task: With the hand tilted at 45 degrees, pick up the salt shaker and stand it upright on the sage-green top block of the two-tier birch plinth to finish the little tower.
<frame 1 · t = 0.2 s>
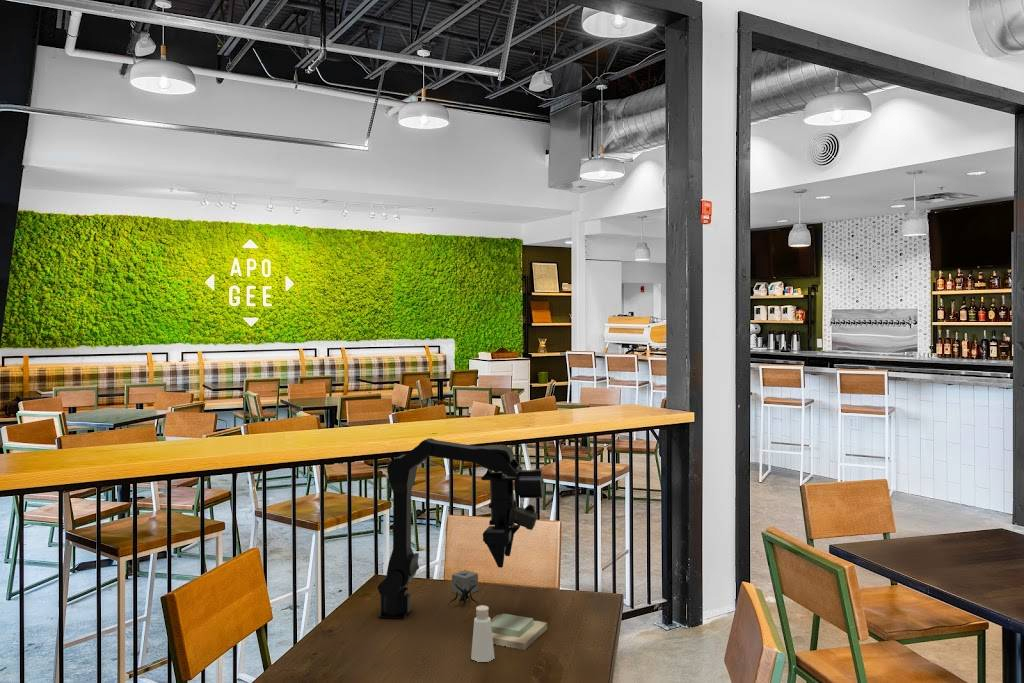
hand: (504, 561, 183), 14 cm above the table, tool pointing down, fingers open, 9 cm apart
dice cube: (465, 593, 204), on the table
salt shaker: (482, 658, 162), on the table
creature: (463, 607, 194), on the table
plinth: (510, 634, 175), on the table
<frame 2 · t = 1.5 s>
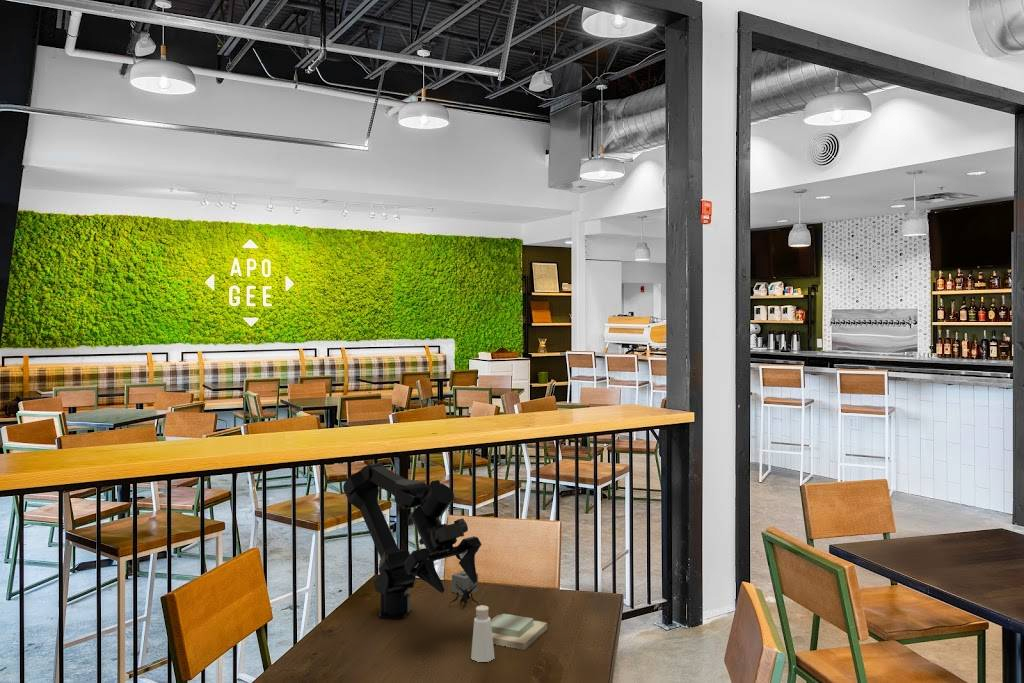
hand: (459, 587, 168), 13 cm above the table, tool tilted 45°, fingers open, 9 cm apart
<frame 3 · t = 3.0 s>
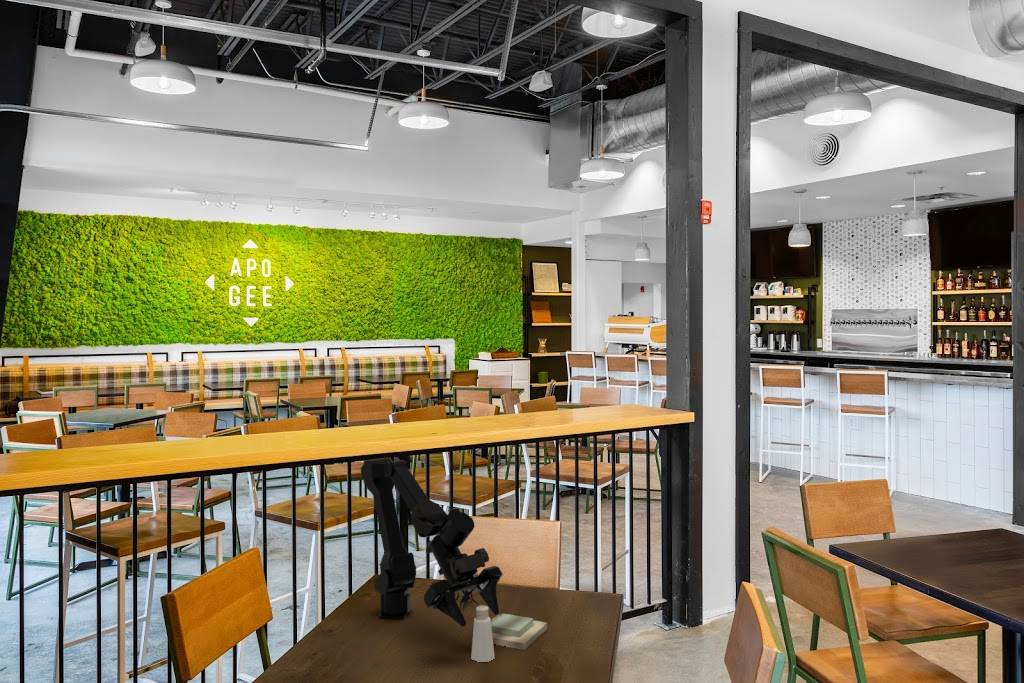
hand: (481, 619, 162), 8 cm above the table, tool tilted 45°, fingers open, 9 cm apart
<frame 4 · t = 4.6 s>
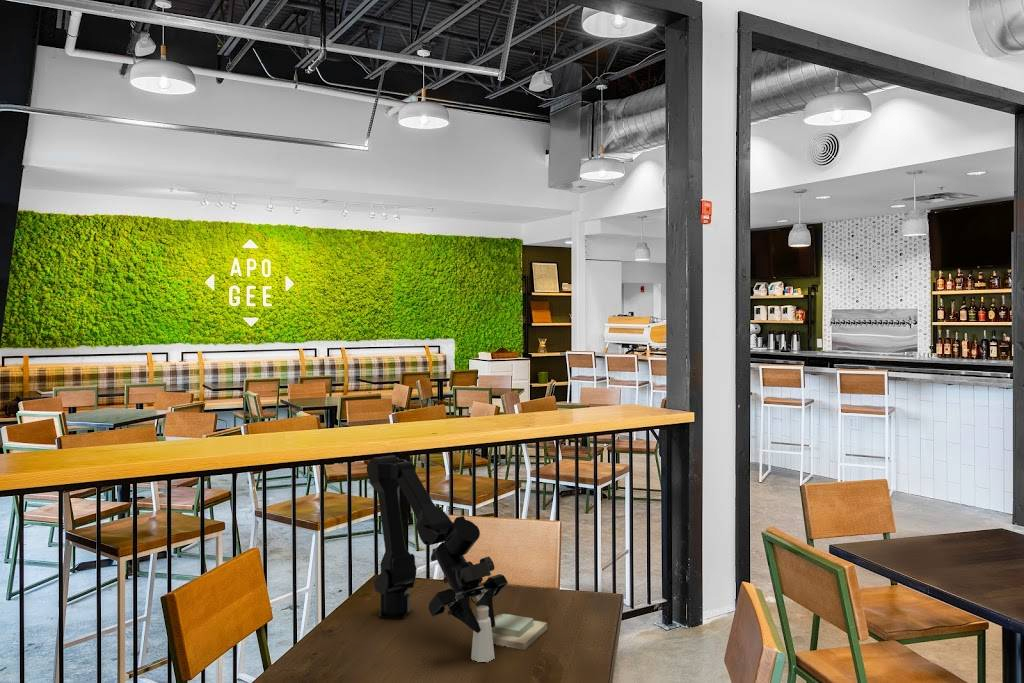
hand: (486, 629, 161), 7 cm above the table, tool tilted 45°, fingers closed on salt shaker, 4 cm apart
salt shaker: (482, 658, 162), on the table, touching gripper
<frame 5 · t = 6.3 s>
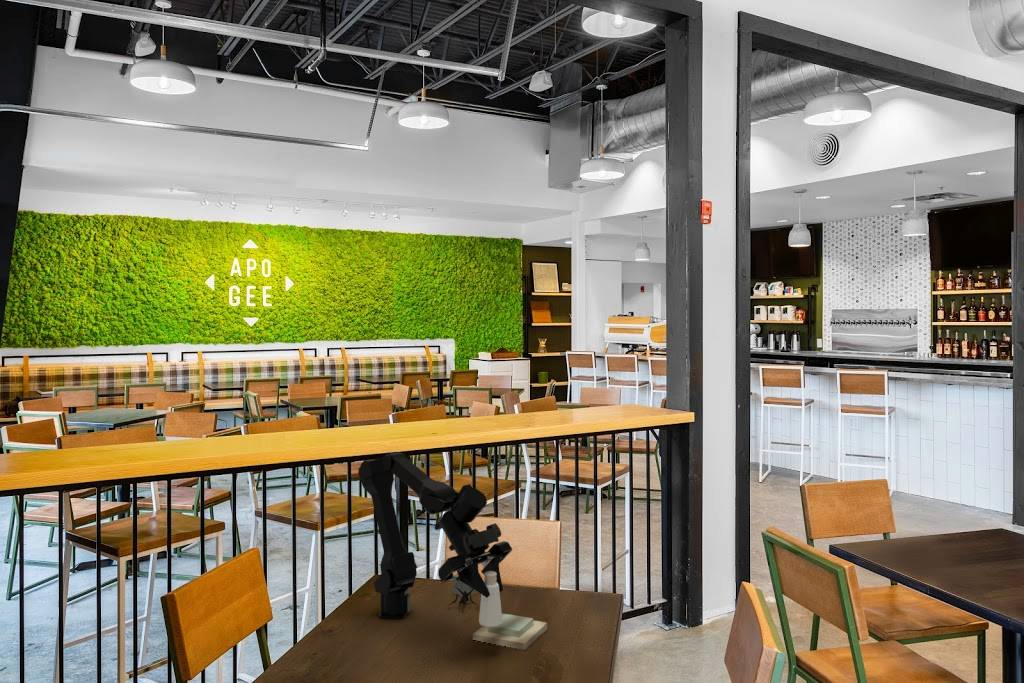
hand: (495, 593, 164), 13 cm above the table, tool tilted 45°, fingers closed on salt shaker, 4 cm apart
salt shaker: (490, 623, 165), point 6 cm above the table, touching gripper
when the fingers open (11 cm above the table, at t = 8.3 s): salt shaker stays where it is, resting on plinth.
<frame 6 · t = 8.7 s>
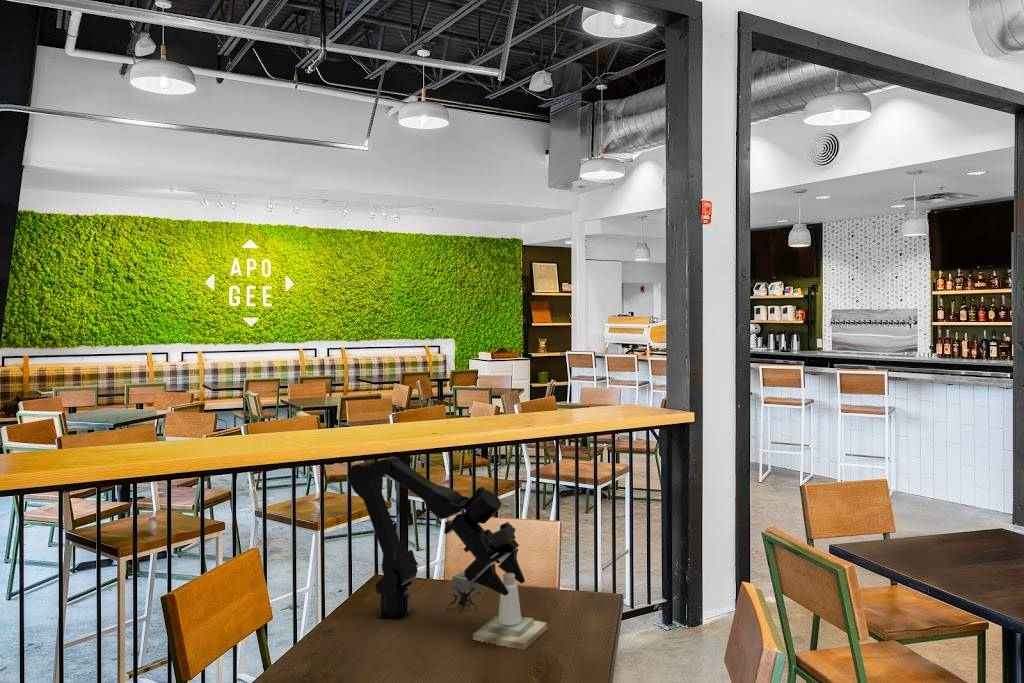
hand: (515, 588, 174), 11 cm above the table, tool tilted 45°, fingers open, 9 cm apart
salt shaker: (509, 622, 174), point 3 cm above the table, touching plinth
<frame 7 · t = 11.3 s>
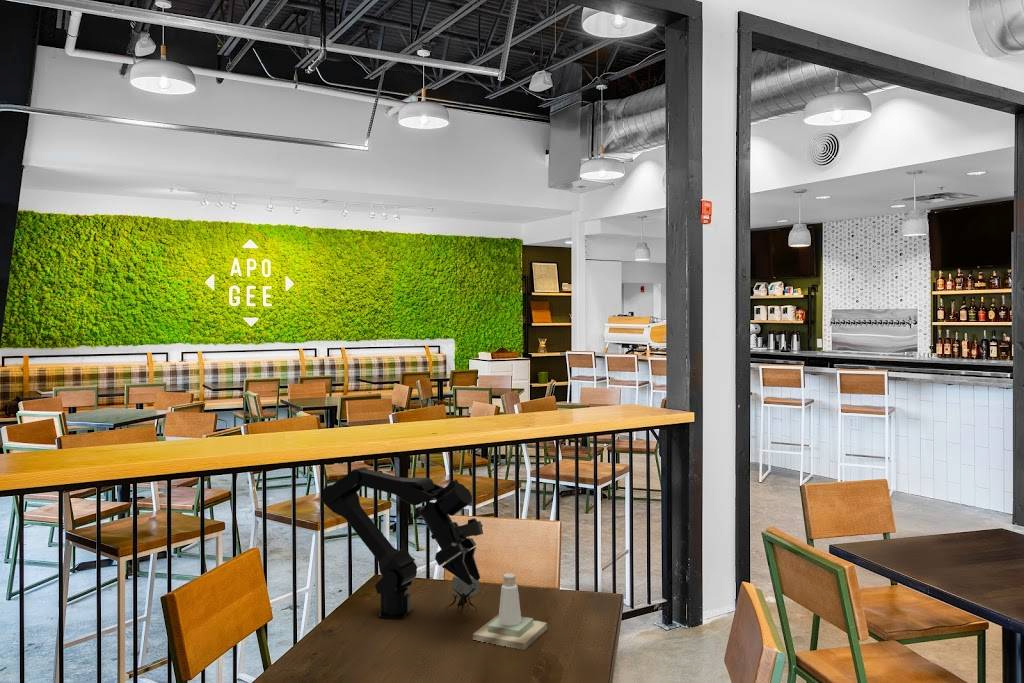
hand: (474, 581, 179), 11 cm above the table, tool tilted 35°, fingers open, 9 cm apart
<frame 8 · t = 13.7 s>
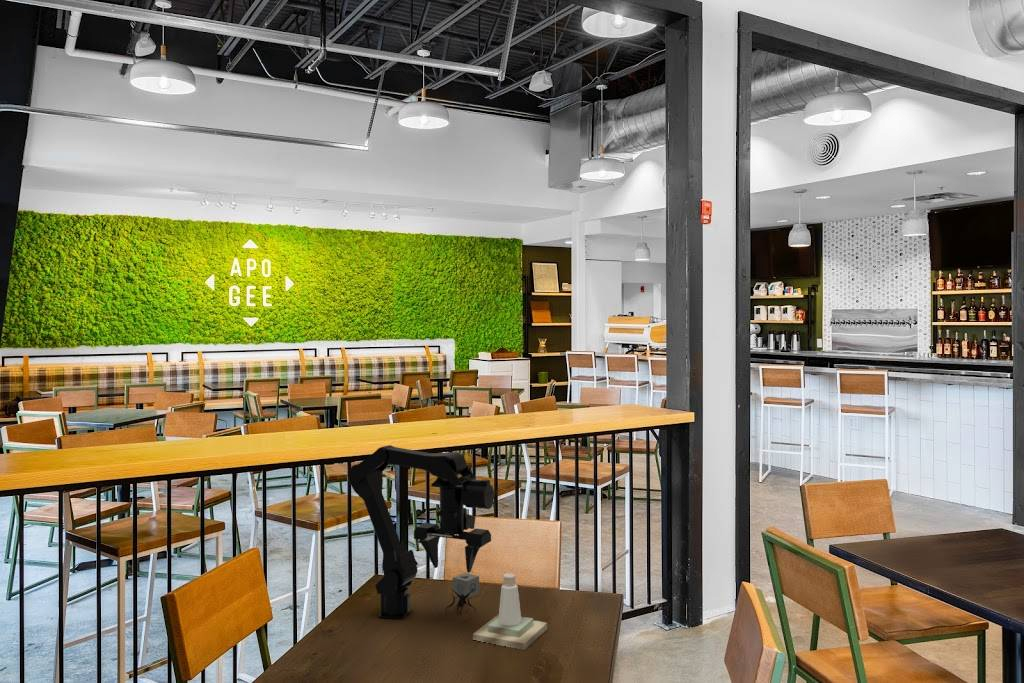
hand: (452, 569, 182), 13 cm above the table, tool pointing down, fingers open, 9 cm apart
at the end: salt shaker 0.2 cm off-centre on the plinth, point 2.8 cm above the plinth's base; salt shaker tilted 0°; the gripper is holding nothing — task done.
